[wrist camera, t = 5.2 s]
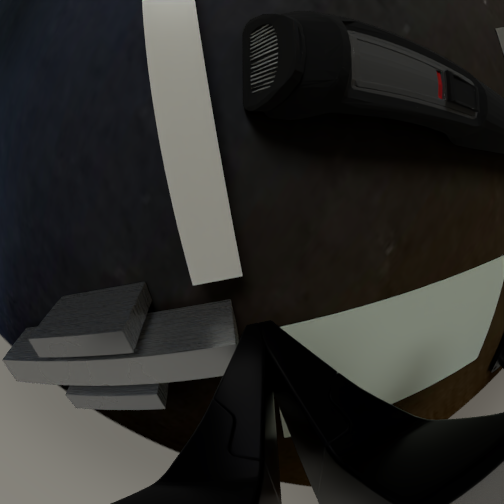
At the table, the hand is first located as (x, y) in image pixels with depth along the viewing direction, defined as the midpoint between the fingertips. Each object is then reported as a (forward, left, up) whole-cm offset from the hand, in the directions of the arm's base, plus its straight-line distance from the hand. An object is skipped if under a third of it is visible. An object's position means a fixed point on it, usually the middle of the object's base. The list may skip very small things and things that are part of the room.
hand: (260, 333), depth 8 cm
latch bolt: (0, +6, -2) cm, 6 cm away
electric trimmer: (+7, -8, -3) cm, 11 cm away
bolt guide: (0, +6, -2) cm, 6 cm away
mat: (-6, -8, -2) cm, 10 cm away
